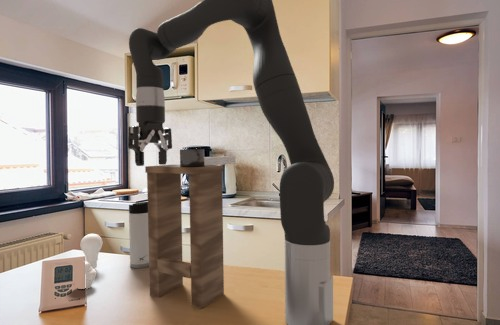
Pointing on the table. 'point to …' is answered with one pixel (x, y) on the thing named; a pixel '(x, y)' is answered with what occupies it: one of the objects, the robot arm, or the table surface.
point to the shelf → (201, 231)
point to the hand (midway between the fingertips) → (151, 165)
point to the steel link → (202, 159)
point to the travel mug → (139, 235)
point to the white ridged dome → (89, 274)
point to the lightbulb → (91, 248)
